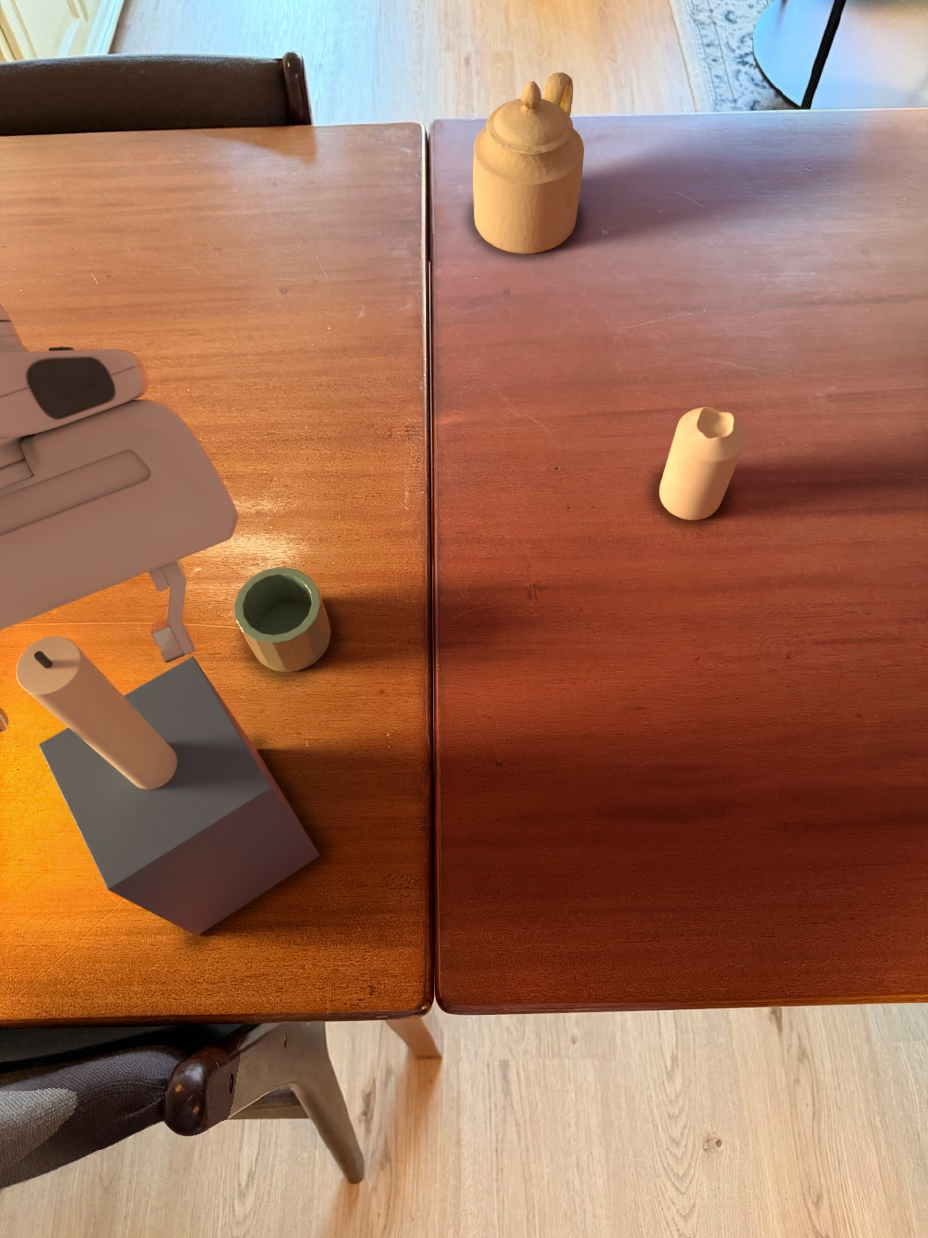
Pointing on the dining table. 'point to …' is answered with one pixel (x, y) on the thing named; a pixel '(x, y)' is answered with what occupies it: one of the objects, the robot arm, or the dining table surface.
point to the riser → (183, 809)
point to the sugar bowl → (529, 170)
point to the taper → (95, 710)
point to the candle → (701, 462)
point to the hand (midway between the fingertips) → (88, 693)
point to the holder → (283, 619)
